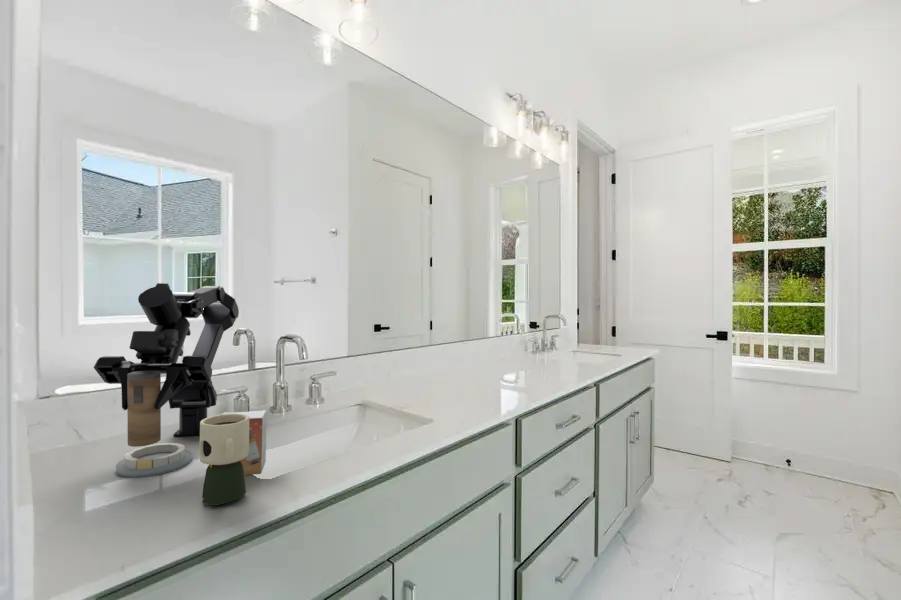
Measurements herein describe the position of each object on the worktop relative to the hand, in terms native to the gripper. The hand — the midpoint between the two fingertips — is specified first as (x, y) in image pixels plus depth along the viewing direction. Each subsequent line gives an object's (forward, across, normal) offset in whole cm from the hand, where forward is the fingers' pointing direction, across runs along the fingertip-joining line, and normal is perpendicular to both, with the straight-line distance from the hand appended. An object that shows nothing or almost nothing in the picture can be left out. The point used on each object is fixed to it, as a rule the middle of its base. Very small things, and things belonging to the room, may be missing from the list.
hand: (140, 408), depth 79 cm
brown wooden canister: (+4, 0, +6) cm, 7 cm away
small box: (+9, +17, +8) cm, 21 cm away
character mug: (+18, +18, -1) cm, 25 cm away
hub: (+6, +1, +11) cm, 13 cm away
